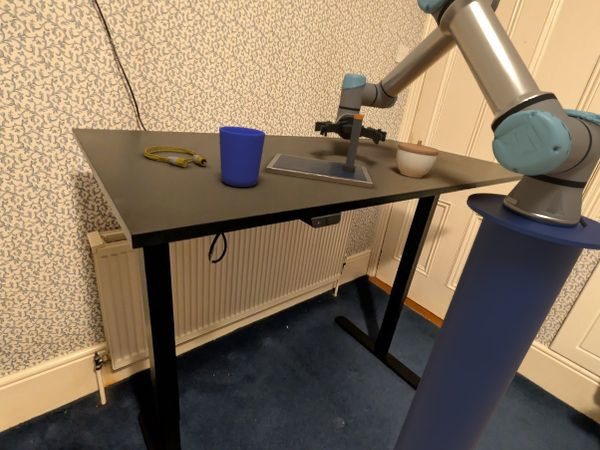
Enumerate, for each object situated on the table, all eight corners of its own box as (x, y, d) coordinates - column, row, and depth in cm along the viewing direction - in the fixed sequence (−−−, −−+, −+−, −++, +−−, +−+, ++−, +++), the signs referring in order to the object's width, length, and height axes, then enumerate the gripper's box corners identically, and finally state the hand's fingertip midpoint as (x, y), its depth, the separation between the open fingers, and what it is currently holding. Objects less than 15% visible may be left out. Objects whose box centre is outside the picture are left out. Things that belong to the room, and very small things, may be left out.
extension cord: (144, 167, 64) (143, 157, 63) (144, 149, 77) (143, 141, 76) (207, 168, 69) (208, 159, 68) (197, 152, 82) (198, 144, 81)
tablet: (364, 170, 88) (365, 166, 87) (371, 188, 72) (373, 182, 71) (277, 157, 88) (277, 152, 88) (265, 172, 73) (266, 166, 72)
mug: (243, 171, 70) (246, 124, 67) (267, 189, 61) (273, 135, 57) (206, 172, 66) (206, 121, 62) (226, 191, 57) (228, 133, 53)
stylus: (357, 172, 79) (369, 116, 74) (346, 172, 77) (357, 114, 72) (350, 168, 81) (361, 114, 76) (339, 168, 80) (349, 112, 75)
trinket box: (438, 179, 89) (449, 145, 86) (414, 181, 83) (425, 144, 80) (407, 168, 97) (415, 137, 93) (383, 170, 91) (391, 136, 87)
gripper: (383, 144, 105) (396, 156, 85) (307, 132, 105) (302, 142, 86) (389, 119, 102) (403, 127, 82) (311, 108, 102) (306, 113, 83)
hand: (352, 135), depth 84 cm, fingers open, 13 cm apart
